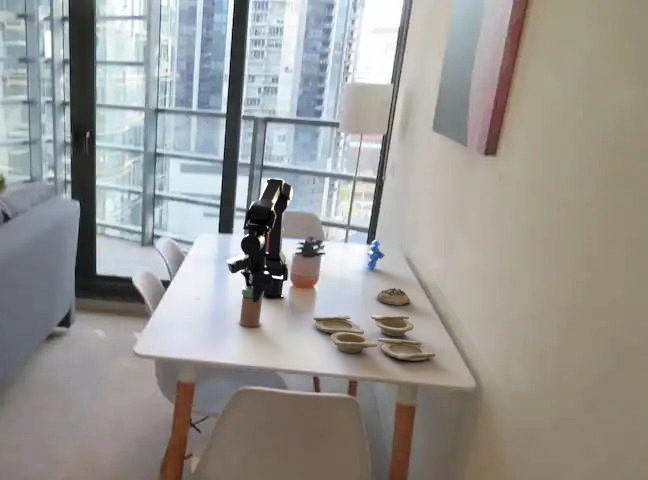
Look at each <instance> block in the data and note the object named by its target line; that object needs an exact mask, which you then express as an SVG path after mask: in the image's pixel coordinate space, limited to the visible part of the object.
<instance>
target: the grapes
mask: <svg viewBox="0 0 648 480" xmlns="http://www.w3.org/2000/svg"><path fill="white" fill-rule="evenodd" d="M370 245H371V246H370V248H369V249H370V251H369V252H367V256H368V257H369V260H368V261H367V263H368V264H367V266H368V268H369V269H370V270H373V269H374V268H376V267H377V264H378V263H377V262H378V261H379V260H381V259H383V258H384V257H385V256H386V255H385V254H384V252H383V251H381V249H380V248H379V247H380V245H381V244H380V242H379V240H377V239H374V240H373V241H372V242H371V243H370Z"/></svg>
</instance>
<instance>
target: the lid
mask: <svg viewBox="0 0 648 480" xmlns="http://www.w3.org/2000/svg"><path fill="white" fill-rule="evenodd" d="M241 295H243V296H245V297H249V298H253V293H252V286H246V285H245V286H242V287H241ZM261 297H262V298H263V297H264V291H263V293H262V295H261V296H260V298H261Z"/></svg>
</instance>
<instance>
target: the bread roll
mask: <svg viewBox="0 0 648 480" xmlns="http://www.w3.org/2000/svg"><path fill="white" fill-rule="evenodd" d="M377 299H378V300H379V301H380V302H382V303H384V304H389V305H397V306H402V305H405V304H408V303H410V302H411V299H410V297H409V296H408V294H406V292H405V291H404V290H402V289H401V288H398V289H397V288H396V287H393V288H391V287H388V289H384V290H381V291H380V292H379V293H377Z"/></svg>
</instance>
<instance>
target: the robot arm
mask: <svg viewBox="0 0 648 480" xmlns="http://www.w3.org/2000/svg"><path fill="white" fill-rule="evenodd" d="M293 194H294V190H293V186H292V185H290V184H289V183H287V182H285V180H284V179H282V178H273V177H272V178H271V177H270V178H267V180H266V182H265V184H264V188H263V191H262V194H261V195H260V197H259V199H257V200H254V201H253V202H252V203H251V205H250V207H248V208H247V210H246V215H245V220H244V222H243V223H244V224H243V228H242V230H243V231H244V230H245V231H247V234H246V235H245V236H244V237H243V238H242V239H241V241H240V249H241V251H242V252H243V254H242V255H238V256H235V257H232V258H229V259H227V260H226V264H227V267H228V270H229V272H230V273H231V274H237V273H240V274H241V275H242V276H243V277H244V281H245V286H252V293H253V302H257V301H258V299H259V298H260V296H261V295H262V293H263V291H264V296H263V297H264V298H266V299H284V297H285V296H284V295H283V289H284V288H283V287H284V282H287V281H288V279H289V268H288V264H287V263H286V261H287V260H286V255H285V253H284V252H283V250H282V248H283V234H284V230H283V228H284V220H285V211H286V210H287V208H288V206H290V203H291V201H292V200H293ZM268 236H269V246H268V253H267V245H268Z"/></svg>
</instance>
